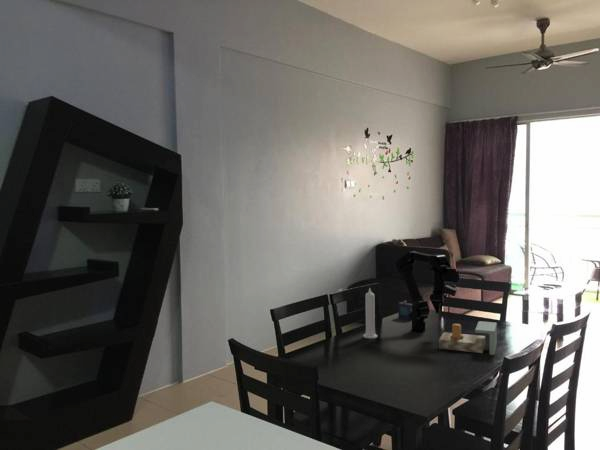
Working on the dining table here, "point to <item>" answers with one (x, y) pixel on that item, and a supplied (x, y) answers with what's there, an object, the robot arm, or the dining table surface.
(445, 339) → the socket block
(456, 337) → the peg
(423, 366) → the dining table surface
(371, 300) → the candle
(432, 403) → the dining table surface
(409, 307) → the flask
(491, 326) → the upright pale grey block
